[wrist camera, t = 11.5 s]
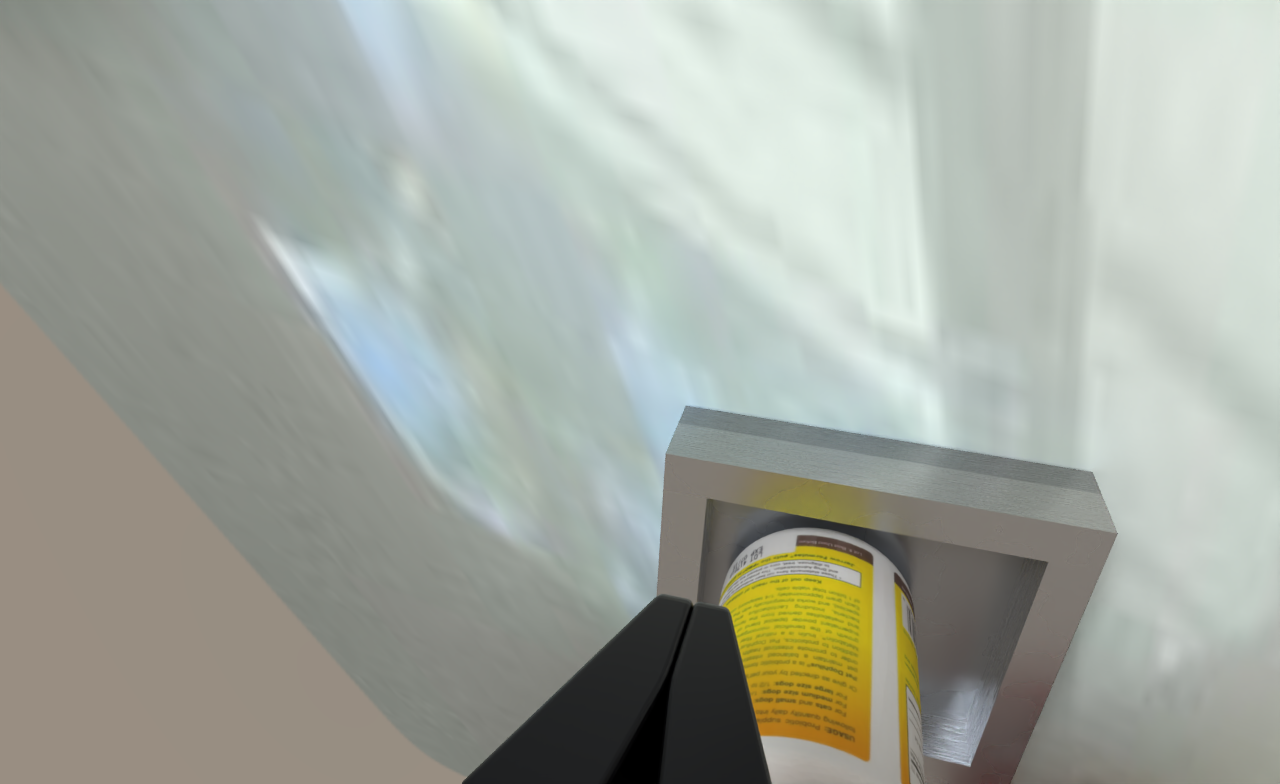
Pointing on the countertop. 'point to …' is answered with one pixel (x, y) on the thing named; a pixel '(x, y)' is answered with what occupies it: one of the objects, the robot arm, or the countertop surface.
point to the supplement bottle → (828, 658)
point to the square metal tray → (908, 558)
